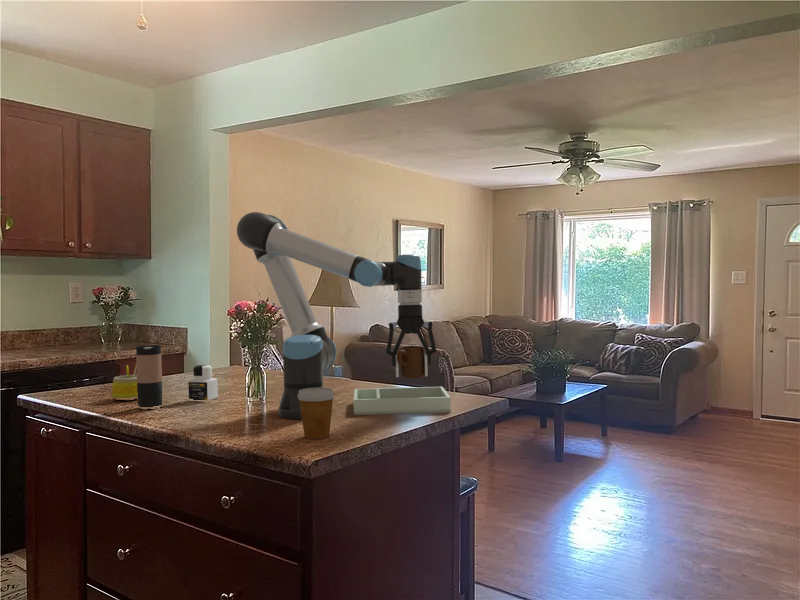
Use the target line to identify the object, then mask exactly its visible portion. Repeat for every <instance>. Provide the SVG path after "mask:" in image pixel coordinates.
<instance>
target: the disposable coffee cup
mask: <svg viewBox="0 0 800 600" xmlns="http://www.w3.org/2000/svg"><path fill="white" fill-rule="evenodd" d="M335 396H336V395H335V393H334V390H333V388H330V387H323V388H306V389H301V390H299V394H298V395H297V397H298V399H299V401H300V408H301V415H302V419H301V421H302V426H303V435H304V439H308V440H323V439H327V438H329V437H330V431H331V422H332V421H331V420H332V411H333V402H334V397H335Z"/></svg>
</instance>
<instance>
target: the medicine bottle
mask: <svg viewBox="0 0 800 600" xmlns="http://www.w3.org/2000/svg"><path fill="white" fill-rule="evenodd" d="M187 383H188V384H187V385H188V400H189V399H193V400H210V399H213V398H216V397H218V396H219V391H218V390H219V389H218V378H215V377H213V367H212V366H211V365H210V364H209V365H208V364H201V365H198V364H197V365H196V366H194V367H193V379H192V380H191V379H190V380H188V382H187ZM218 398H219V397H218Z"/></svg>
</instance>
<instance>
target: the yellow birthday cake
mask: <svg viewBox="0 0 800 600" xmlns="http://www.w3.org/2000/svg"><path fill="white" fill-rule="evenodd" d="M136 372H137V363H135V367H134V371H133V374H130V369H129V365H128V364H127V365H125V375H124V374H123V375H118V376H114V377H113V379H112V385H111V387H112V388H111V397H112V398H113V397H115V398H131V397H138V393H137V374H136Z"/></svg>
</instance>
